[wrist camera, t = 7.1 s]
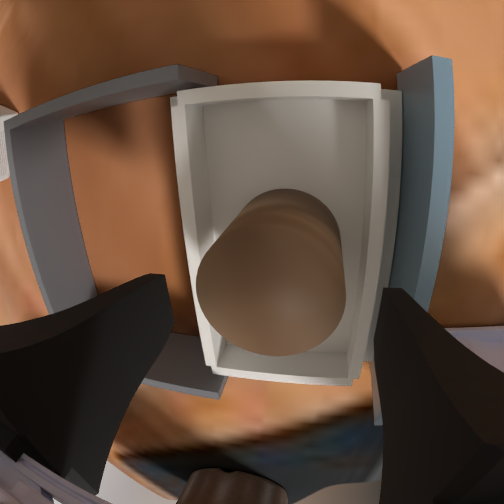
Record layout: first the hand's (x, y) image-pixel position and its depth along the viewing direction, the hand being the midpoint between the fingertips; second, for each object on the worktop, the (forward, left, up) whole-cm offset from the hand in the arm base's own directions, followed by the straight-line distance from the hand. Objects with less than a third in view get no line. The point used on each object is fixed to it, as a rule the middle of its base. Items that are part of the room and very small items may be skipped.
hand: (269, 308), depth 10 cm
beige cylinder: (0, 0, -5) cm, 5 cm away
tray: (0, 0, -6) cm, 6 cm away
